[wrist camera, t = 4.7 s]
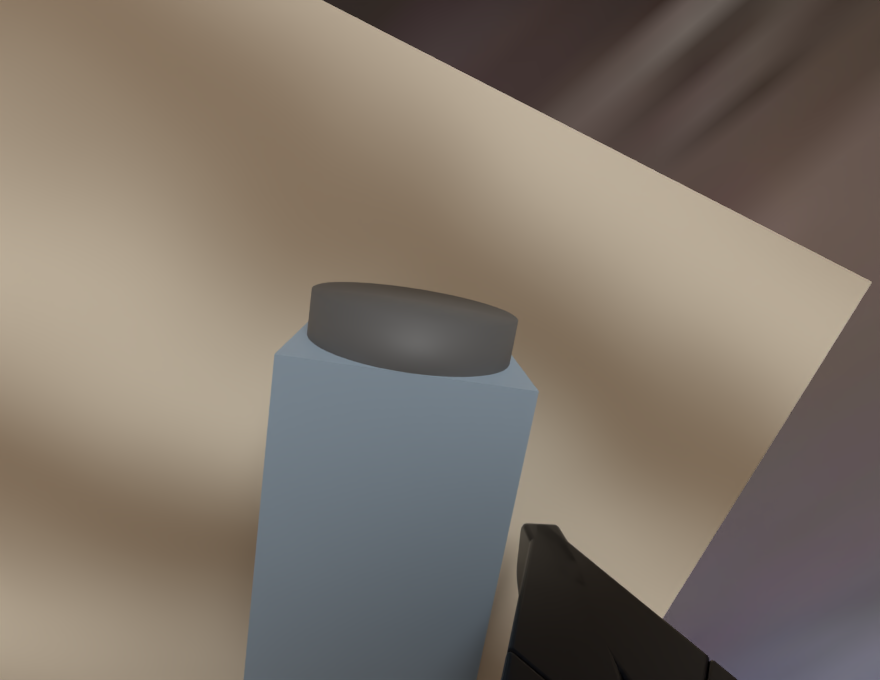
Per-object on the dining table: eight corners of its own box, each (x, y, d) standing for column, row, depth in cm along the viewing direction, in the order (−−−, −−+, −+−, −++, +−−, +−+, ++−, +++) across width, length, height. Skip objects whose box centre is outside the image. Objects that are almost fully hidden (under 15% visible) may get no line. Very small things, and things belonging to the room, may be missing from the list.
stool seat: (418, 882, 15) (419, 1009, 13) (-335, 688, 12) (-517, 802, 10) (774, 269, 11) (872, 281, 9) (-189, -212, 9) (-425, -383, 6)
